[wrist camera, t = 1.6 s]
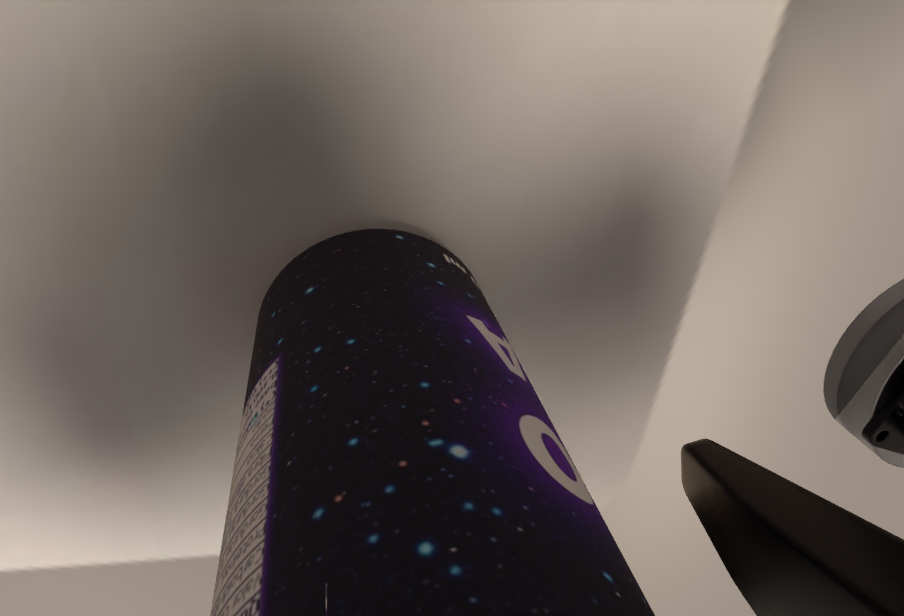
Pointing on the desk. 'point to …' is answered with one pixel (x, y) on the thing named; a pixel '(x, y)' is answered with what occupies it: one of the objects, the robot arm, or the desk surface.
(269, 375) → the beverage can
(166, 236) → the desk surface
